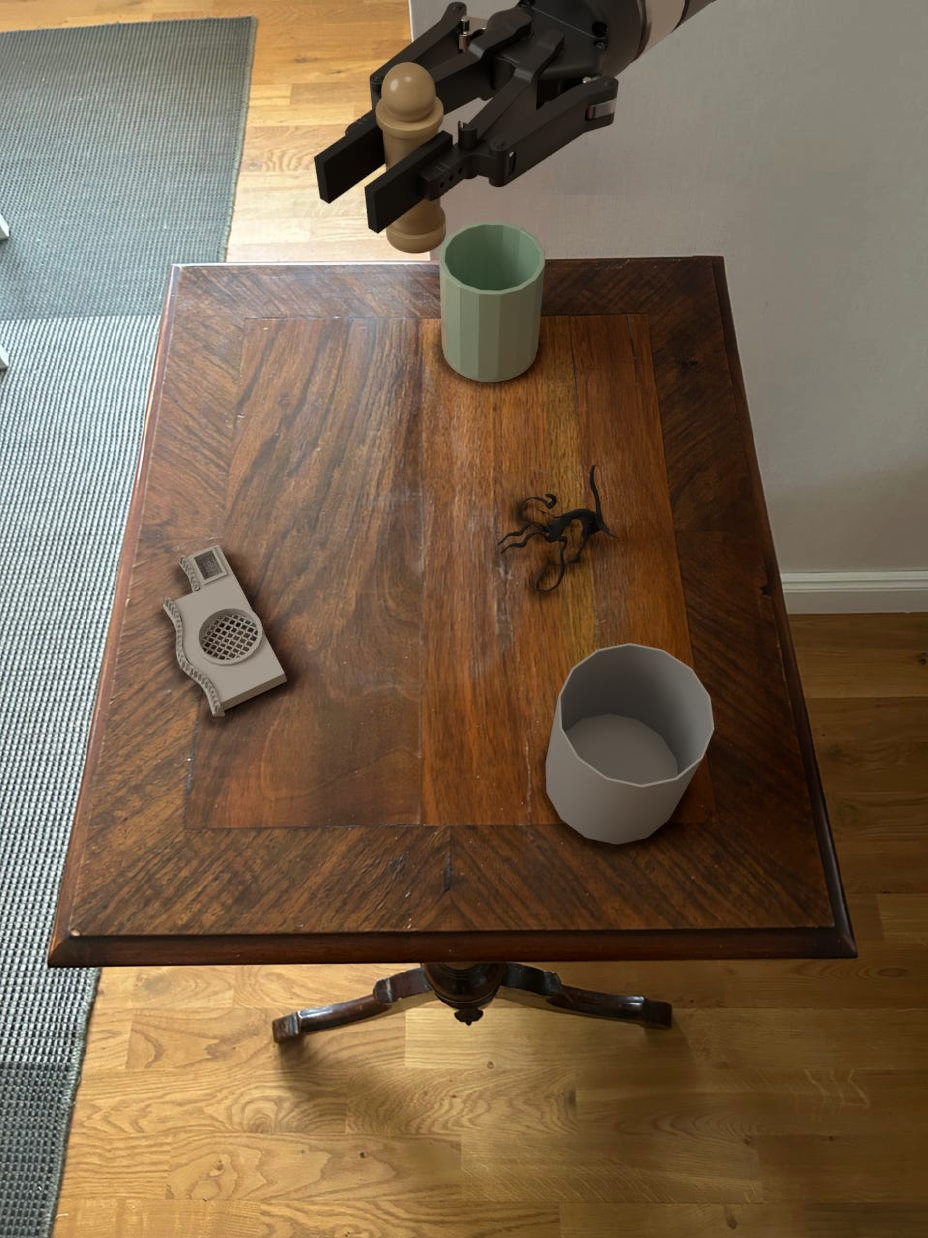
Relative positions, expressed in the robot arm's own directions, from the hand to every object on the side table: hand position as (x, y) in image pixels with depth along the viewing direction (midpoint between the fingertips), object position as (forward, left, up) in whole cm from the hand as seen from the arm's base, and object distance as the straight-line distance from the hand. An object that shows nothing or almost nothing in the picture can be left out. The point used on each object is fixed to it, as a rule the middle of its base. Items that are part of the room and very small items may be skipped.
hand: (346, 195), depth 57 cm
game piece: (-3, -4, -6) cm, 8 cm away
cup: (-17, +26, -22) cm, 38 cm away
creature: (-13, +8, -22) cm, 27 cm away
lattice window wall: (+7, +15, -21) cm, 27 cm away
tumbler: (-8, -10, -22) cm, 26 cm away
